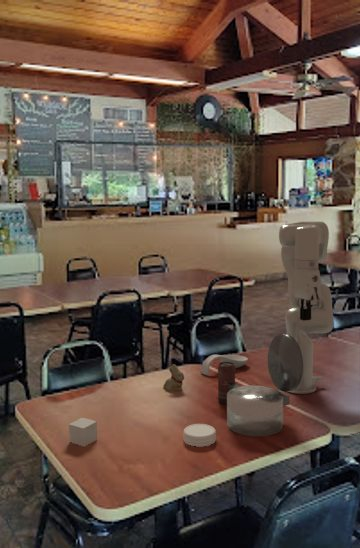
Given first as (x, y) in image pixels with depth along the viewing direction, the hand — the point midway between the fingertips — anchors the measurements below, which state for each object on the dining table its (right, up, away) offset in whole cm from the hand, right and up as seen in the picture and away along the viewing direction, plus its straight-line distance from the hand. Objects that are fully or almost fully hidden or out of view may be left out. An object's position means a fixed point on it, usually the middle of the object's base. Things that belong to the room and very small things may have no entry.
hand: (305, 319), depth 185 cm
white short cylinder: (-35, -36, -12) cm, 52 cm away
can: (-24, -31, +19) cm, 44 cm away
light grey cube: (-71, -37, -12) cm, 81 cm away
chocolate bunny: (-44, -30, +32) cm, 62 cm away
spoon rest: (-22, -26, +55) cm, 65 cm away
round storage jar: (-17, -33, +2) cm, 38 cm away
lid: (-8, -14, -1) cm, 16 cm away
